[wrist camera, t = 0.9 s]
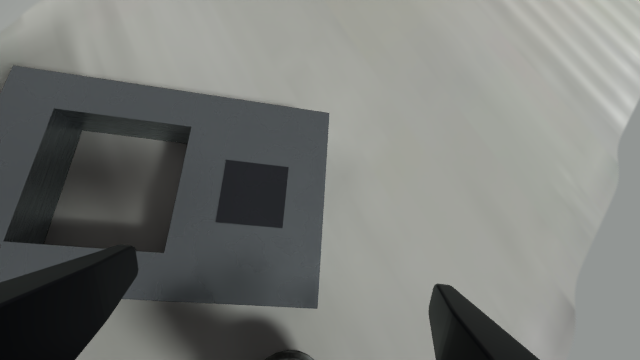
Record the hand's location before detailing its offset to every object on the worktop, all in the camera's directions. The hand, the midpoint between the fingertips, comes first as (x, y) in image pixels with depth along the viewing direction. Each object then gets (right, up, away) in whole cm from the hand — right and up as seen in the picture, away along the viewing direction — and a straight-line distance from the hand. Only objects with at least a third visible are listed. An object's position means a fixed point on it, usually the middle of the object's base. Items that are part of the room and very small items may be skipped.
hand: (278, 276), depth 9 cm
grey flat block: (-9, +2, +12) cm, 15 cm away
